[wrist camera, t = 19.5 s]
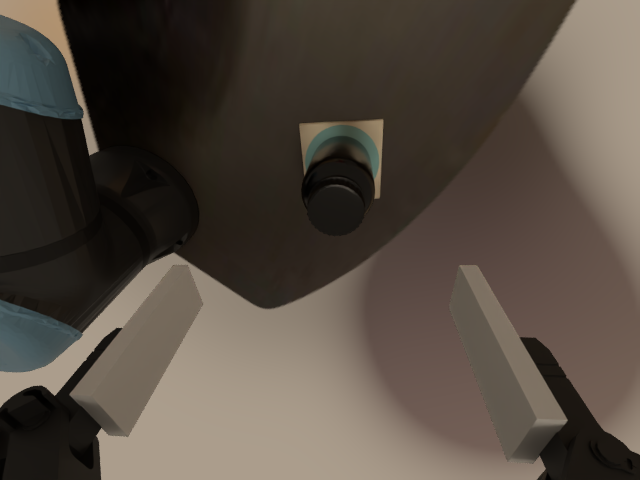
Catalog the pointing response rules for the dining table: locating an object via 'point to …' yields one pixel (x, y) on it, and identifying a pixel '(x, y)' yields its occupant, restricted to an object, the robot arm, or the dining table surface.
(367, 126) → the board
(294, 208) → the dining table surface
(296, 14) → the dining table surface
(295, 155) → the dining table surface
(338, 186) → the supplement bottle
